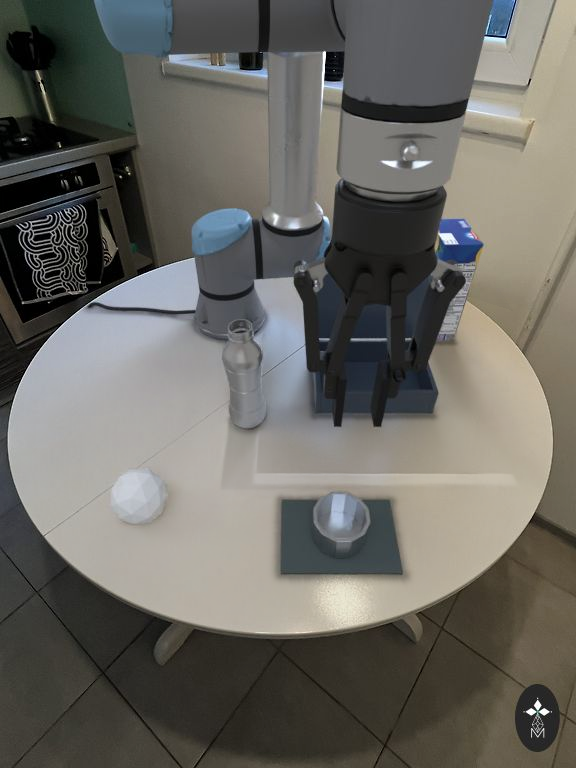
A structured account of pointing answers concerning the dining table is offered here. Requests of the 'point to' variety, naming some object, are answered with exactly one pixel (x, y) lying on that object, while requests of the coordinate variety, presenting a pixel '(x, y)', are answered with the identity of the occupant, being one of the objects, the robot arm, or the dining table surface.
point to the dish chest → (361, 374)
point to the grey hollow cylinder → (340, 524)
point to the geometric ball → (138, 496)
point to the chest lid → (366, 312)
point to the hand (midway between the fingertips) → (356, 416)
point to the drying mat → (308, 559)
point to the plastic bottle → (244, 375)
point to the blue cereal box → (465, 250)
